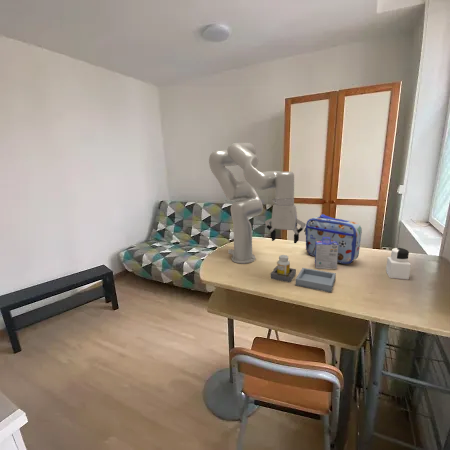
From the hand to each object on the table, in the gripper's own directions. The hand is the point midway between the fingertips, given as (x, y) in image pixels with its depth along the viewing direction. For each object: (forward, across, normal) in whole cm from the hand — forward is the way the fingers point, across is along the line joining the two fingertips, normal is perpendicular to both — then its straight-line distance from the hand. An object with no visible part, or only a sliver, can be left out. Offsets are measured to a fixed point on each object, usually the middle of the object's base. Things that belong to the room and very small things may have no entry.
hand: (284, 241), depth 113 cm
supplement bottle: (+17, -1, 0) cm, 17 cm away
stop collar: (+17, -1, 0) cm, 17 cm away
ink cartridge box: (+17, +14, +18) cm, 29 cm away
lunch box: (+17, +14, +30) cm, 38 cm away
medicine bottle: (+18, +43, +21) cm, 51 cm away
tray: (+17, +13, 0) cm, 22 cm away
